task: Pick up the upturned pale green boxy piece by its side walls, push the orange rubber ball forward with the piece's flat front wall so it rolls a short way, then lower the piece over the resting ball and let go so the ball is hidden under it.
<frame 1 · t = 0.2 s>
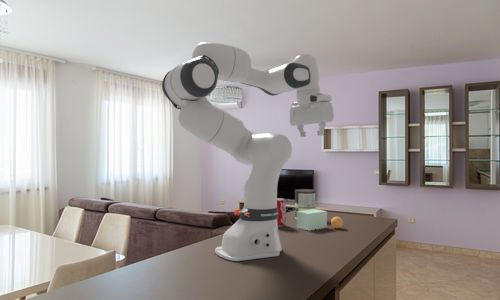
hand: (311, 136, 128), 39 cm above the kitchen counter, tool pointing down, fingers open, 8 cm apart
ball: (336, 222, 147), on the kitchen counter
soda can: (277, 226, 152), on the kitchen counter
pale green boxy piece: (311, 227, 148), on the kitchen counter
coffee can: (305, 218, 169), on the kitchen counter
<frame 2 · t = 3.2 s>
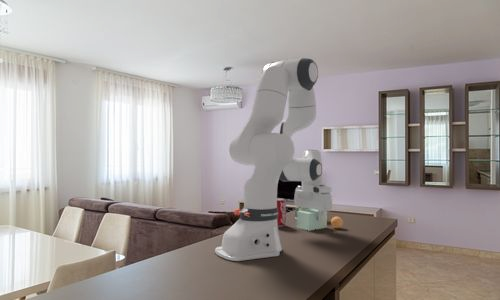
hand: (312, 219, 148), 4 cm above the kitchen counter, tool pointing down, fingers closed on pale green boxy piece, 7 cm apart
pale green boxy piece: (311, 227, 148), on the kitchen counter, touching gripper
everything else where it was.
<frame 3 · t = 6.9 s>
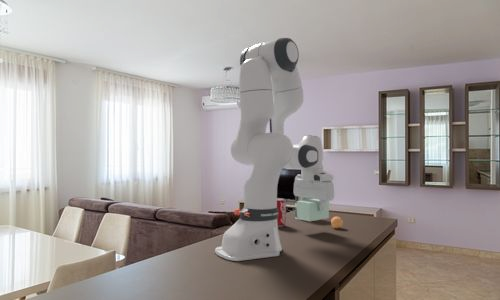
hand: (312, 209, 139), 9 cm above the kitchen counter, tool pointing down, fingers closed on pale green boxy piece, 7 cm apart
pale green boxy piece: (313, 218, 139), point 6 cm above the kitchen counter, touching gripper
everything else where it was.
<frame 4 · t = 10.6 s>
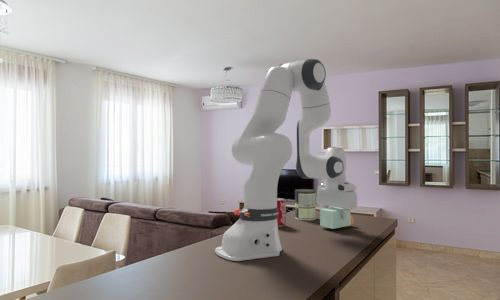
hand: (335, 217, 146), 5 cm above the kitchen counter, tool pointing down, fingers closed on pale green boxy piece, 7 cm apart
ball: (347, 220, 151), on the kitchen counter
pale green boxy piece: (335, 225, 146), point 1 cm above the kitchen counter, touching gripper
everything else where it was.
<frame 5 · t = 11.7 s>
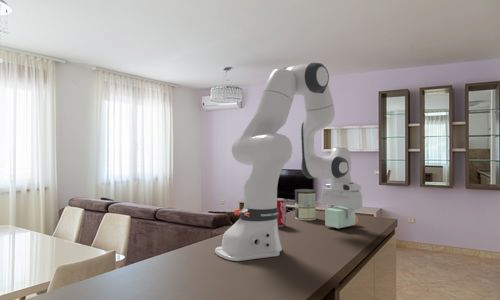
hand: (340, 216, 148), 5 cm above the kitchen counter, tool pointing down, fingers closed on pale green boxy piece, 7 cm apart
ball: (352, 219, 152), on the kitchen counter
pale green boxy piece: (340, 224, 148), point 1 cm above the kitchen counter, touching gripper
everything else where it was.
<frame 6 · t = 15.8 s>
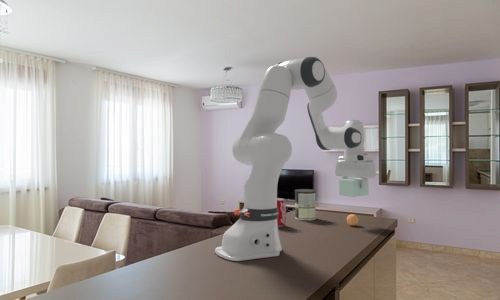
hand: (354, 187, 153), 17 cm above the kitchen counter, tool pointing down, fingers closed on pale green boxy piece, 7 cm apart
pale green boxy piece: (354, 195, 153), point 14 cm above the kitchen counter, touching gripper
everything else where it was.
when the fingers open (4 cm above the kitchen counter, at t = 19.4 s): pale green boxy piece stays where it is, on the kitchen counter.
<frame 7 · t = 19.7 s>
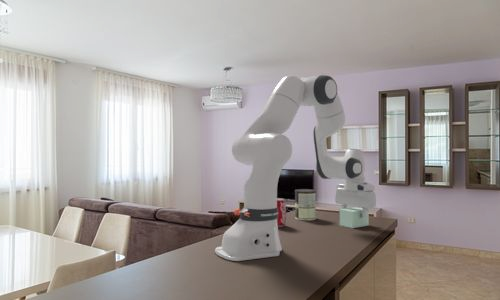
hand: (354, 216, 153), 4 cm above the kitchen counter, tool pointing down, fingers open, 8 cm apart
pale green boxy piece: (354, 225, 153), on the kitchen counter
everything else where it was.
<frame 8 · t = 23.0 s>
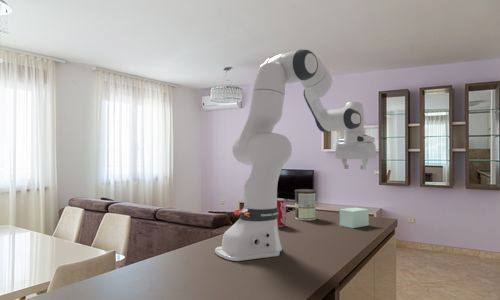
hand: (354, 169, 153), 25 cm above the kitchen counter, tool pointing down, fingers open, 8 cm apart
nothing on the kitchen counter moved.
at the end: ball 1.1 cm from the pale green boxy piece (horizontally); pale green boxy piece on the kitchen counter; ball moved 10.1 cm from its start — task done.
